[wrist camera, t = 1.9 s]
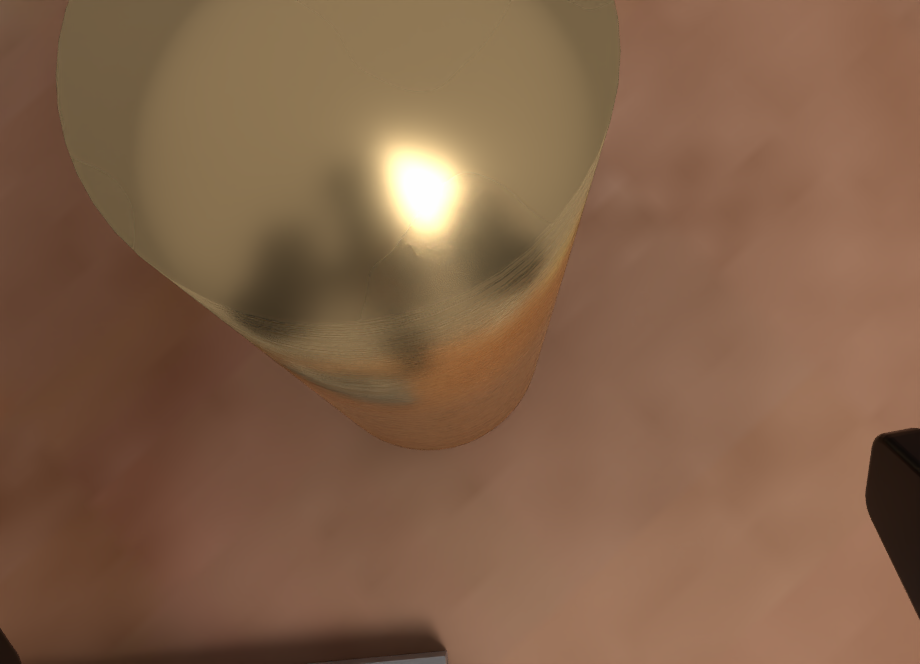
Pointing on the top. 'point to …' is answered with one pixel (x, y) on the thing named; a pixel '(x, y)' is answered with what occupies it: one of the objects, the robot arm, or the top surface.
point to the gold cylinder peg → (353, 181)
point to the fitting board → (399, 659)
